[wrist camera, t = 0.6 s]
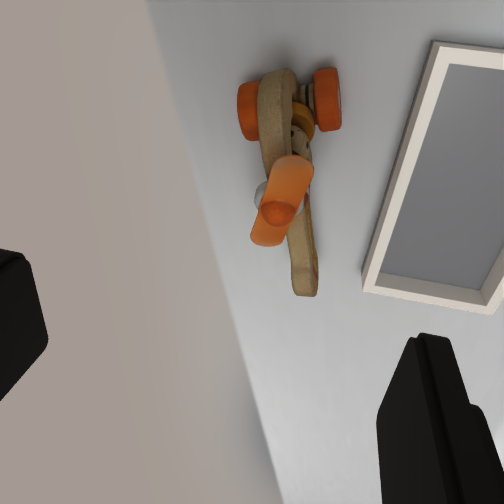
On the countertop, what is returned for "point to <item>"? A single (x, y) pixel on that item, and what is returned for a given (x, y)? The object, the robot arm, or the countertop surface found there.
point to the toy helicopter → (288, 160)
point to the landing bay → (446, 188)
